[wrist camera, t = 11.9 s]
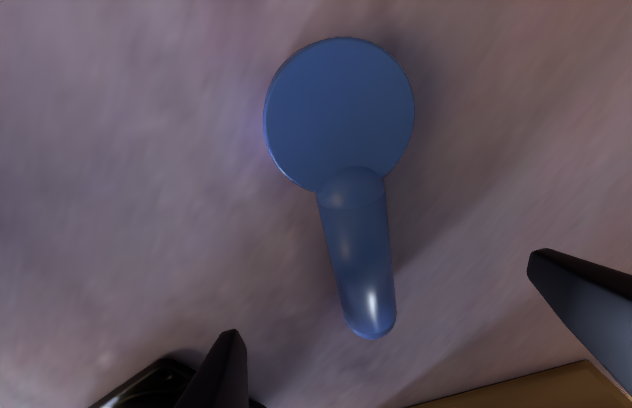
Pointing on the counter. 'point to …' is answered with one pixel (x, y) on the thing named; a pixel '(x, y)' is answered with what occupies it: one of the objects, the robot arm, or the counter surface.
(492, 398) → the cutlery tray
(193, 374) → the robot arm
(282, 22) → the counter surface
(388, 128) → the blue spoon
